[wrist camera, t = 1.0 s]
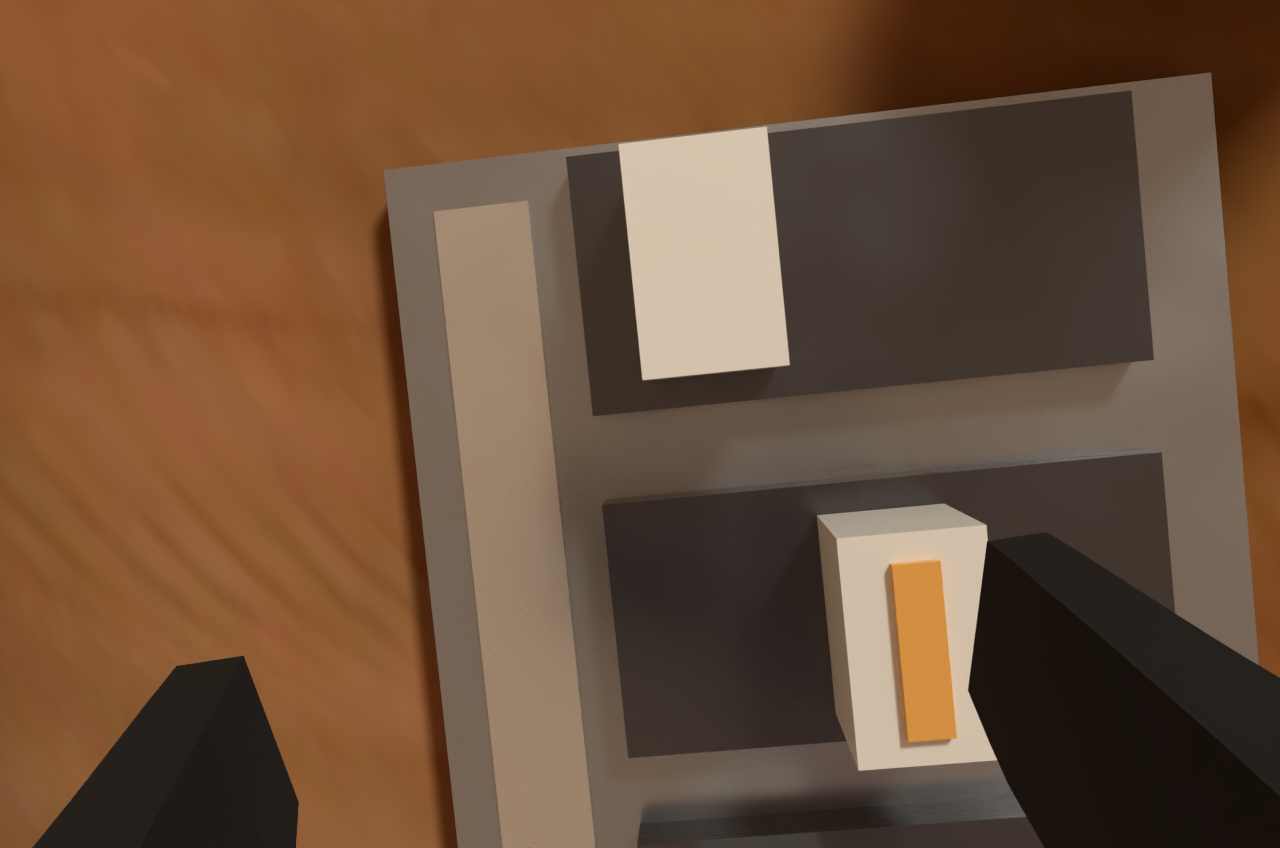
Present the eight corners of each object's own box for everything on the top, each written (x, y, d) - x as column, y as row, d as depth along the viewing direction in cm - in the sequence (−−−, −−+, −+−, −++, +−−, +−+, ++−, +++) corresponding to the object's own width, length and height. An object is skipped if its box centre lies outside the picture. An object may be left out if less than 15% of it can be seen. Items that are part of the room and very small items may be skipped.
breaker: (776, 367, 20) (789, 364, 17) (651, 380, 20) (642, 379, 17) (757, 164, 20) (766, 126, 17) (630, 179, 20) (618, 144, 17)
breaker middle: (962, 703, 20) (1011, 764, 17) (835, 713, 20) (860, 775, 17) (944, 503, 20) (989, 526, 17) (816, 515, 20) (837, 540, 17)
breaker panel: (1257, 1007, 22) (1318, 1075, 20) (495, 1051, 23) (474, 1121, 21) (1182, 89, 22) (1237, 56, 19) (400, 181, 23) (368, 159, 20)
